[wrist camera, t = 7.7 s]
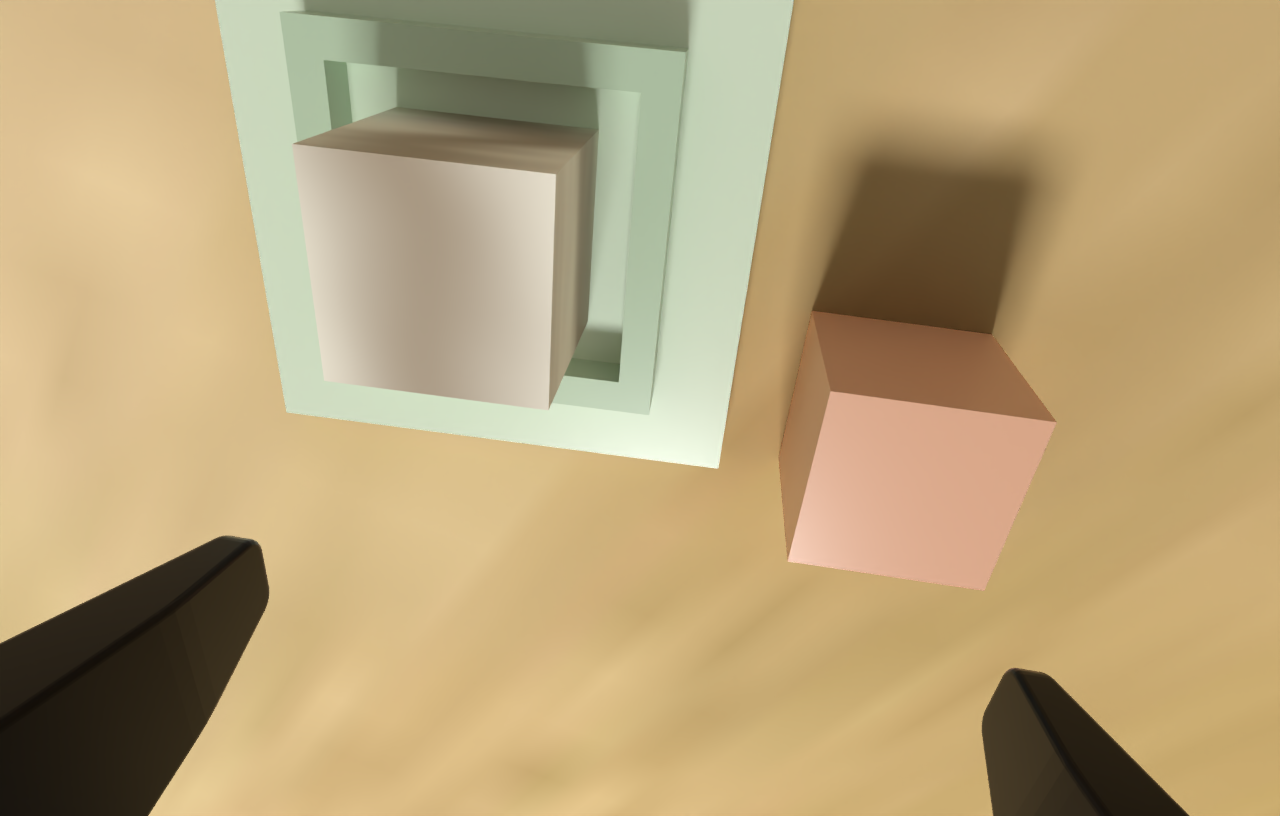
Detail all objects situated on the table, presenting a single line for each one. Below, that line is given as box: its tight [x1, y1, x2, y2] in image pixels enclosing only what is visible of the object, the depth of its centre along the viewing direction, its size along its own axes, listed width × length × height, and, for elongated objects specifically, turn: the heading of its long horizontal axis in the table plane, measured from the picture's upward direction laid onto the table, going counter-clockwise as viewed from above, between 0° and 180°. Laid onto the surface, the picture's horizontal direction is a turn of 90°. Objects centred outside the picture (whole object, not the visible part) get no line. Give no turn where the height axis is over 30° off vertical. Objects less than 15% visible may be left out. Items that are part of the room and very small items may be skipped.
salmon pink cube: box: [779, 311, 1057, 591], centre depth 18 cm, size 4×4×4 cm
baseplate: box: [215, 0, 794, 468], centre depth 18 cm, size 12×12×2 cm
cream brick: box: [292, 107, 599, 410], centre depth 16 cm, size 4×4×4 cm
